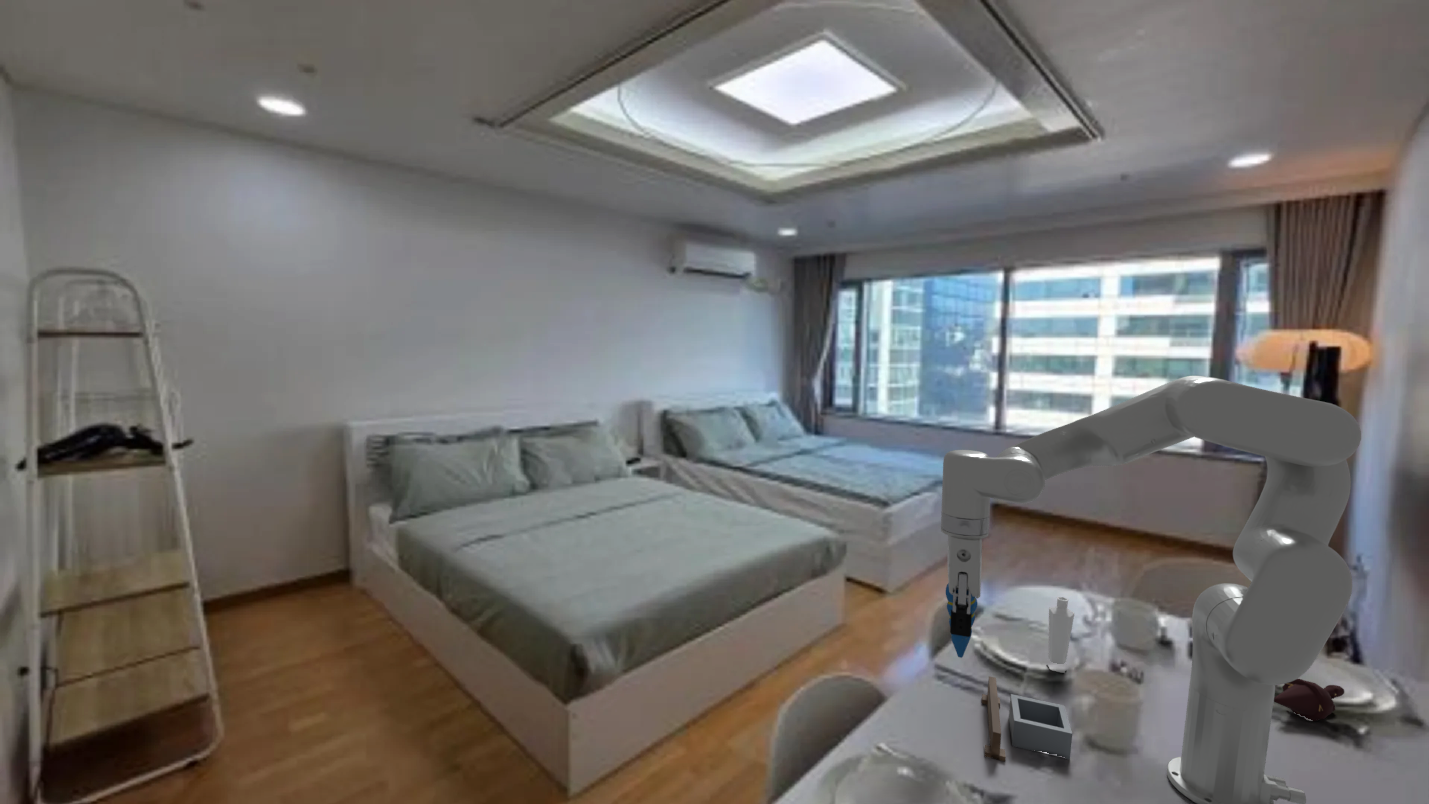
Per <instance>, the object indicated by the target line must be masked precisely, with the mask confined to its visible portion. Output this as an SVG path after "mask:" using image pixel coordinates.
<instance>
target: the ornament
mask: <svg viewBox="0 0 1429 804" xmlns="http://www.w3.org/2000/svg"><path fill="white" fill-rule="evenodd" d="M958 580H959V576H958ZM956 593H958V590H956ZM966 594H969V590H968V591H966ZM945 597H946V599H947V603H946V609H947V613H948V615H949V619H948V623H949V625H950V624H951V610H953V595H952V594H951V593H950V592H949V583H947V584H946V587H945ZM957 600H958V597H956V601H957ZM966 602H967V599H966ZM977 608H978V598H976V597H973V596H972V594H971V607H970V613H972V619H971V636H970V637H966V636H959V635H953V634H951V633H950V639H951V640H950V641H951V642H952V645H953V647H954V649H955V652H956V655H957V657H958V658H959V659H962V658H963V657H964V655H965V652H966V650H967V647H968V646H969V643H970V640H971V638H972V633H973V625H974V623H975V620H976V615H975V612H976V610H977Z"/></svg>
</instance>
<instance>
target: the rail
mask: <svg viewBox="0 0 1429 804" xmlns="http://www.w3.org/2000/svg"><path fill="white" fill-rule="evenodd" d="M997 686H998V685H997V677H994V676H990V675H989V676H988V683H987V694H984V693H982V694H981V704H983V705H986V707H987V718H988V721H987V722H988V733H989V734H988V735H989V745H988V744H984V749H983V750H984V757H985V758H988V759H989V758H990V759H993V760H997V761H1001V762H1005V763H1006V760H1007V759H1006V749H1004V748H1001V744H1002V728H1001V727H1002V725H1001V717H1000V708H1001V699H1000V698H1001V697H999V696H998V687H997Z"/></svg>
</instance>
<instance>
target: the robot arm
mask: <svg viewBox="0 0 1429 804" xmlns="http://www.w3.org/2000/svg"><path fill="white" fill-rule="evenodd" d="M1192 438H1196V439H1200V440H1203V441H1205V442H1208V443H1212V444H1216V445H1220V446H1223V447H1227V448H1230V449H1234V450H1238V451H1242V452H1246V453H1250V454H1254V455H1258V456H1262V457H1264V458H1265V462H1266V466H1267V477H1266V480H1265V483H1264V486H1263V489H1262V491H1261V493H1260V496H1259V498H1258V500H1257V502H1256V504H1255V506H1254V508H1253V510H1252V511H1251V513H1250V515H1249V518H1248V519H1247V521H1246V523H1245V525H1244V527H1243V528H1242V530H1241V531H1240V534H1239V535H1238V536H1237V537H1238V538H1237V539H1236V540H1235V543H1234V546H1233V550H1232V558H1233V562H1234V564H1235V566H1236V567H1237V568H1238V570H1239V571H1240V573H1242V574H1243V575H1244V577H1246V578H1247V579H1248V580H1249V581H1250V584H1249V586H1248V587H1247V586H1245V585H1242V584H1237V583H1231V582H1228V583H1225V582H1224V583H1217V584H1213V585H1211V586H1209V587H1208V588H1205V590H1203V591H1202V592H1201V593H1200V594H1199V595H1198V597H1197V599H1196V600H1195V602H1194V605H1193V609H1192V618H1191V622H1192V623H1191V626H1192V627H1191V629H1192V656H1191V657H1192V658H1191V668H1190V669H1191V670H1190V680H1189V686H1188V695H1187V704H1186V711H1185V712H1186V713H1185V721H1184V729H1183V738H1182V746H1181V747H1182V748H1181V749H1182V750H1181V756H1178V757H1173V758H1172V759H1170V760H1169V761H1168V762H1167V767H1166V775H1167V778H1168V780H1169V781H1170V783H1171V784H1172V785H1173V786H1174V787H1175V788H1176V789H1177V790H1178V791H1179V792H1180V793H1181V794H1182V795H1183V796H1185V797H1186V798H1187V799H1188V800H1191V801H1192V802H1194V803H1195V804H1275V802H1274V801H1278V800H1279V799H1280V800H1284V801H1287V802H1290V803H1294V804H1307V796H1306V793H1305V791H1304V790H1302V789H1300V788H1295V787H1291V786H1287V783H1286V780H1285V778H1284V777H1279V776H1278V777H1277V776H1274V775H1268V774H1266V773H1265V769H1266V762H1267V754H1268V753H1267V752H1268V748H1269V747H1268V746H1269V740H1270V732H1271V731H1270V730H1271V724H1272V715H1273V709H1274V703H1275V702H1274V697H1276V696H1275V695H1276V694H1275V693H1276V686H1280V685H1284V684H1286V683H1289V682H1292V681H1294V680H1296V679H1300V678H1301V677H1302V676H1303V675H1304V674H1306V673H1307V671H1308V670H1309V669H1310V668H1311V667H1312V665H1314V663H1315V662H1316V660H1317V659H1318V656H1319V655H1320V654H1321V651H1322V650H1323V648H1324V646H1325V645H1326V643H1327V641H1328V640H1329V638H1330V636H1331V634H1332V633H1333V632H1334V629H1335V628H1336V626H1337V624H1338V622H1340V621H1339V620H1340V619H1341V618H1342V615H1343V613H1344V612H1345V610H1346V608H1347V606H1348V604H1349V601H1350V600H1351V595H1352V593H1353V592H1352V591H1353V578H1352V577H1353V576H1352V572H1351V569H1350V567H1349V566H1348V563H1347V562H1346V560H1344V558H1343V557H1342V556H1341V555H1340V554H1339V553H1338V552H1337V551H1336V550H1334V549H1333V548H1332V547H1330V546H1329V544H1330V541H1331V538H1332V537H1333V534H1334V533H1335V531H1336V529H1337V527H1338V524H1339V523H1340V520H1341V518H1342V516H1343V513H1344V511H1345V509H1346V507H1347V504H1348V502H1349V498H1350V495H1351V486H1352V483H1351V481H1352V479H1351V477H1352V476H1351V472H1350V468H1349V464H1348V461H1347V459H1349V458H1350V457H1351V456H1353V455H1354V453H1356V452H1357V449H1358V448H1359V447H1360V444H1361V440H1362V431H1361V428H1360V424H1359V423H1358V421H1357V419H1356V418H1355V417H1354V415H1352V414H1351V413H1350V412H1348V411H1347V410H1346V409H1345V408H1342V407H1340V406H1338V405H1337V404H1333V403H1331V402H1325V401H1320V400H1316V399H1311V398H1305V397H1301V396H1296V395H1292V394H1287V393H1282V392H1278V391H1274V390H1268V389H1262V388H1258V387H1255V386H1250V385H1246V384H1242V383H1238V382H1233V381H1229V380H1226V379H1222V378H1218V377H1211V376H1210V377H1209V376H1205V375H1188V376H1183V377H1180V378H1177V379H1175V380H1171V381H1169V382H1167V383H1164V384H1162V385H1160V386H1157V387H1156V388H1153V389H1151V390H1150V389H1149V390H1148V391H1146V392H1143V393H1141V394H1138V395H1136V396H1134V397H1132V398H1129V399H1127V400H1125V401H1122V402H1120V403H1117V404H1115V405H1113V406H1110V407H1109V408H1106V409H1103V410H1101V411H1099V412H1096V413H1093V414H1090V415H1088V416H1085V417H1083V418H1079V419H1077V420H1075V421H1072V422H1070V423H1067V424H1064V425H1061V426H1058V427H1055V428H1053V429H1050V430H1047V431H1045V432H1042V433H1040V434H1038V435H1035V436H1033V437H1030V438H1028V439H1026V440H1023V441H1020V442H1019V443H1016V444H1014V445H1011V446H1010V447H1007V448H1005V449H1004V450H1002V451H1001V452H1000V453H998V454H997V455H996V456H995V457H993V456H990V455H988V453H985V452H982V451H979V450H970V449H955V450H950V451H948V452H946V453H945V455H944V457H943V461H942V483H941V484H942V485H941V487H942V488H941V489H942V490H941V511H940V513H941V514H940V532H942V533H943V534H945V535H947V581H948V583H949V592H950V593H951V594H952V595H953V610H951V624H949V627H950V631H949V632H950V635H951V634H953V635H959V636H966V637H970V636H971V637H972V635H971V619H972V613H970V607H971V594H972V596H973V597H976V599H979V598H981V591H982V590H981V589H982V587H981V586H982V565H983V564H982V562H983V558H982V557H983V541H982V540H983V539H985V538H987V537H989V535H990V534H989V531H990V530H989V529H990V514H991V513H990V511H991V499H995V500H999V501H1003V502H1007V503H1011V504H1012V503H1013V504H1029V503H1031V502H1034V501H1035V500H1037V499H1038V498H1039V497H1040V496H1041V495H1042V494H1043V492H1044V489H1045V486H1046V481H1047V480H1048V479H1049V480H1050V479H1052V478H1055V477H1057V476H1059V475H1062V474H1064V473H1068V472H1071V471H1074V470H1078V469H1079V470H1080V469H1084V468H1089V467H1115V466H1120V465H1125V464H1129V463H1131V462H1134V461H1136V460H1138V459H1139V460H1140V459H1141V458H1144V457H1146V456H1148V455H1151V454H1152V453H1157V452H1158V451H1161V450H1163V449H1166V448H1168V447H1172V446H1173V445H1176V444H1180V443H1182V442H1185V441H1188V440H1190V439H1192ZM958 576H959V580H958ZM948 583H947V584H948ZM956 590H958V593H956ZM968 590H969V594H966V591H968ZM956 597H958V600H957V601H956ZM966 599H967V602H966Z"/></svg>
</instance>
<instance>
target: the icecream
mask: <svg viewBox="0 0 1429 804" xmlns="http://www.w3.org/2000/svg"><path fill="white" fill-rule="evenodd" d="M1281 688H1282V692H1280V693H1279V694H1278V695H1276V696H1274V703H1276V704H1278V705H1281V706H1283V707H1285V708H1287V709H1290V711H1293V712H1295V713H1296V714H1300V715H1301V716H1305V717H1306V718H1308V719H1311V720H1313V722H1316V721H1319V720H1325V719H1327V717H1328V716H1330V715H1332V713H1333V712H1334V711H1336V705H1335V704H1334V700H1333V699H1335V698H1339V697H1342V696H1343V695H1344V694H1345V689H1344V688H1343V687H1342V686H1339V685H1336V684H1328V685H1325V687H1321V686H1320V684H1318V683H1317V682H1314V681H1309V680H1304V679H1300V678H1298V679H1296V680H1294V681H1292V682H1289V683H1286V684H1282V687H1281ZM1293 712H1292V713H1293Z"/></svg>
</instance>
